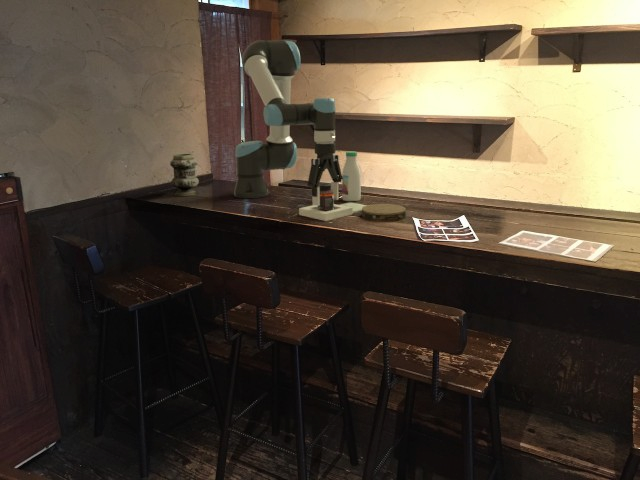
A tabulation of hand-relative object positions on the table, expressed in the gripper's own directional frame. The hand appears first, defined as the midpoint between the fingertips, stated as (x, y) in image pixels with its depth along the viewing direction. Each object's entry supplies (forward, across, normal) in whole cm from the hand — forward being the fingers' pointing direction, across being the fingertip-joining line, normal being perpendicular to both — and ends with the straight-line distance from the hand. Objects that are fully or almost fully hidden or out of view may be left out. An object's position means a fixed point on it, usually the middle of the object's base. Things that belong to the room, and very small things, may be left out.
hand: (325, 202), depth 195 cm
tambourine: (+5, +10, -19) cm, 22 cm away
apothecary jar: (+5, -1, +77) cm, 77 cm away
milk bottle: (+5, +28, +6) cm, 29 cm away
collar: (+5, 0, 0) cm, 5 cm away
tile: (+5, +14, -2) cm, 15 cm away
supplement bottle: (+5, 0, 0) cm, 5 cm away
